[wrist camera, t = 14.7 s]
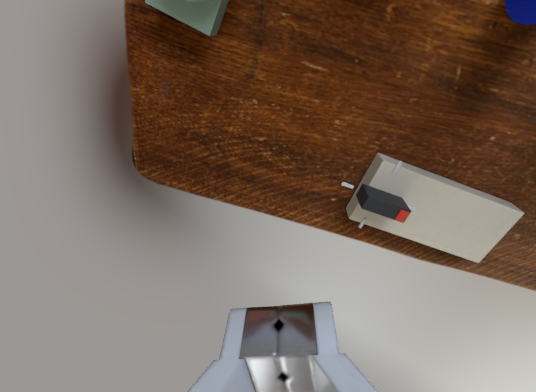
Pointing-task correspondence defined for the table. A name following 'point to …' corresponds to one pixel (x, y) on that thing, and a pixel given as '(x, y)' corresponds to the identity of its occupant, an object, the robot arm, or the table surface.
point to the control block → (194, 12)
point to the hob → (436, 210)
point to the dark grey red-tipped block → (382, 203)
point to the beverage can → (521, 11)
